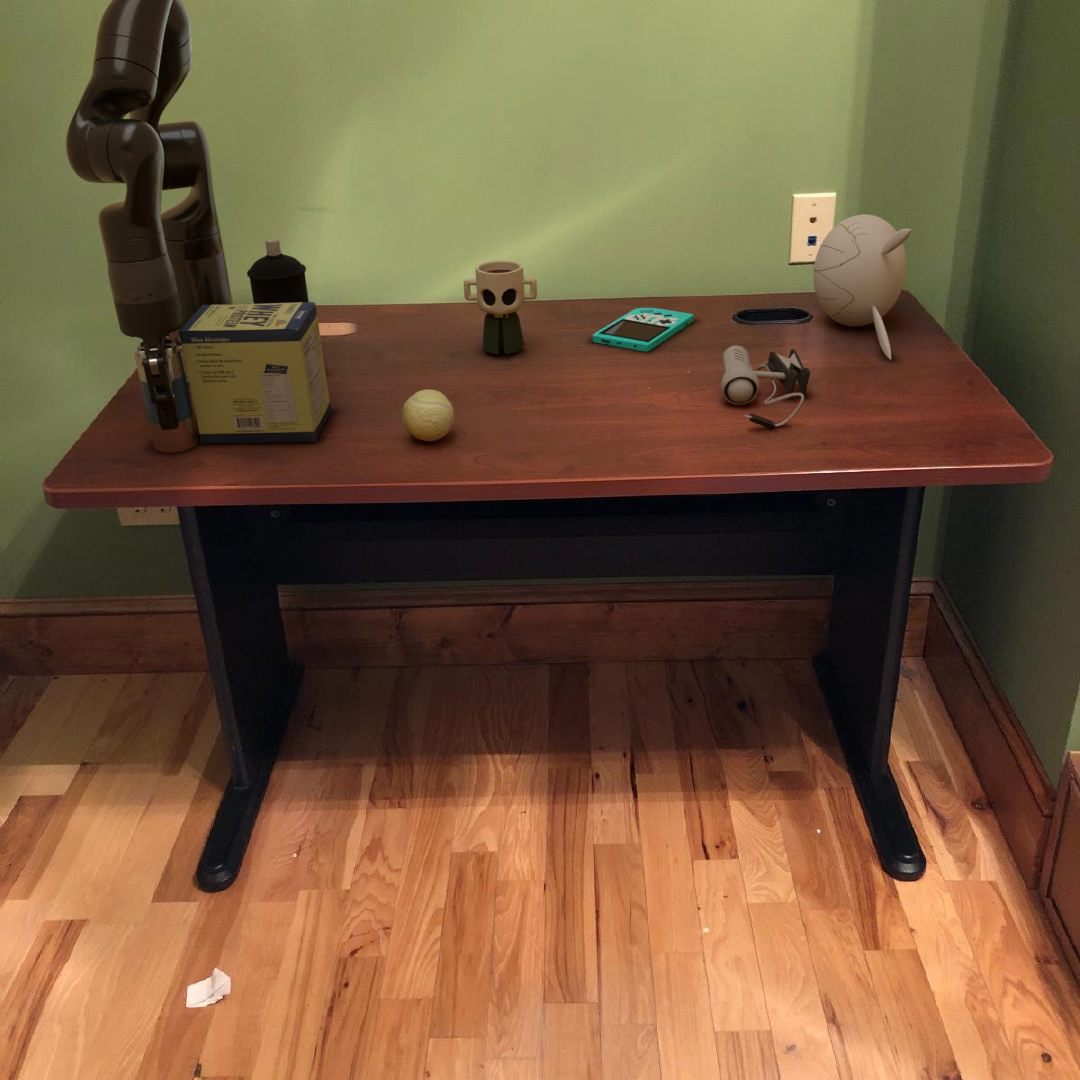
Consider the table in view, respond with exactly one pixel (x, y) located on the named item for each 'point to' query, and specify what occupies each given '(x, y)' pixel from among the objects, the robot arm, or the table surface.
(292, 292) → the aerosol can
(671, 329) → the handheld game console
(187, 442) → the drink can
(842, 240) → the beige egg-shaped piece
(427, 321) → the table surface
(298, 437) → the protein box
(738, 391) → the clip-on lamp
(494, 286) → the character mug
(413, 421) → the tennis ball
